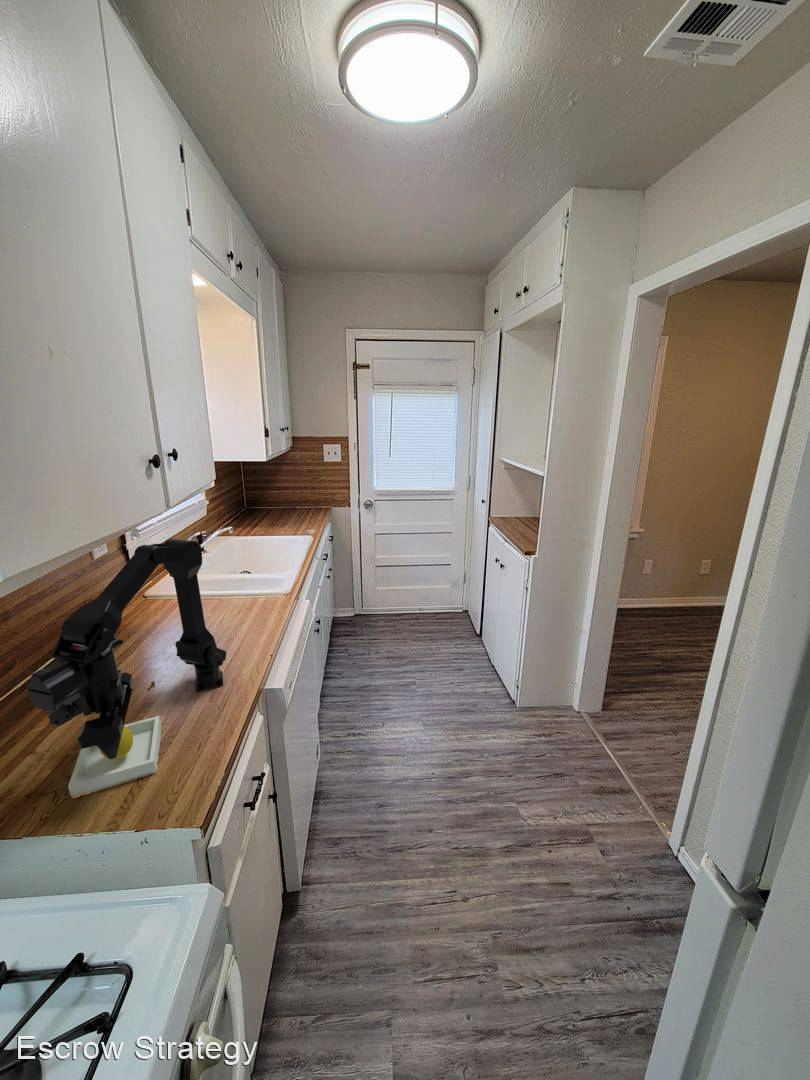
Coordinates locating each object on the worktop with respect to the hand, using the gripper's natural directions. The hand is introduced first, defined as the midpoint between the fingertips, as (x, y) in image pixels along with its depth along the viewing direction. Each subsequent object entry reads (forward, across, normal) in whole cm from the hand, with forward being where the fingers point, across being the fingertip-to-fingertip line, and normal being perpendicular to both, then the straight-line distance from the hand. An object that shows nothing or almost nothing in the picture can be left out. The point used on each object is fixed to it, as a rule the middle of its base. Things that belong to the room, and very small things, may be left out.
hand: (117, 741), depth 85 cm
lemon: (+4, 0, 0) cm, 4 cm away
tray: (+4, 0, 0) cm, 4 cm away
